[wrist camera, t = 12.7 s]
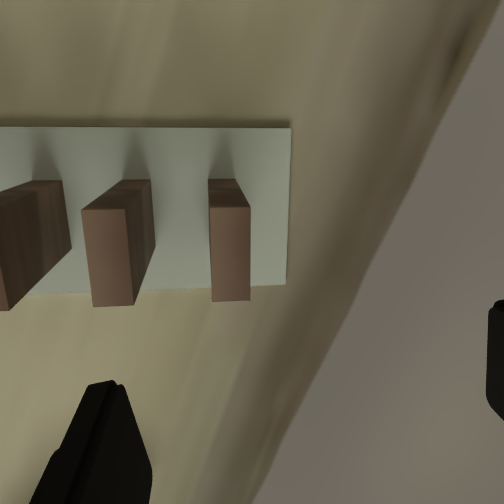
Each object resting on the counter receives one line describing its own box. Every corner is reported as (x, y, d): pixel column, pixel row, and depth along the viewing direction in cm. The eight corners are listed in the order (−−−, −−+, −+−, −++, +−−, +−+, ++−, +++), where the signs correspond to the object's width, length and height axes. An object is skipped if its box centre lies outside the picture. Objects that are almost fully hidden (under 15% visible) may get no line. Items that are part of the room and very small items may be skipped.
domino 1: (43, 249, 29) (-35, 312, 19) (31, 180, 27) (-59, 212, 18) (72, 248, 29) (9, 310, 20) (62, 180, 28) (-11, 211, 18)
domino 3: (209, 245, 30) (212, 301, 21) (207, 178, 29) (210, 207, 19) (235, 244, 30) (250, 300, 21) (235, 178, 29) (250, 207, 19)
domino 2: (128, 247, 30) (93, 307, 20) (121, 179, 28) (80, 210, 19) (155, 246, 30) (133, 305, 20) (150, 179, 28) (124, 209, 19)
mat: (-150, 298, 29) (-156, 301, 28) (-209, 125, 25) (-217, 125, 25) (284, 282, 33) (285, 284, 32) (289, 128, 29) (291, 128, 28)
